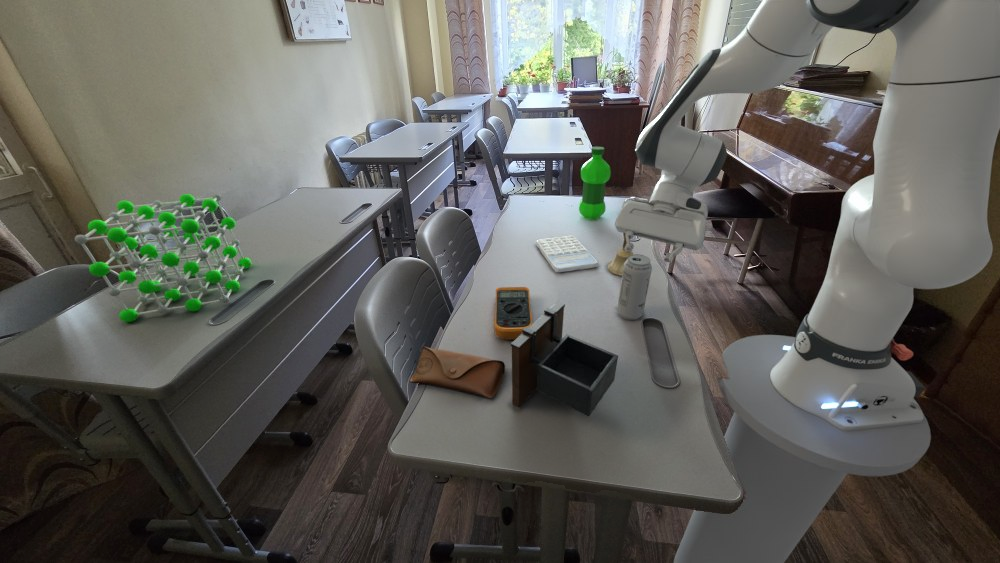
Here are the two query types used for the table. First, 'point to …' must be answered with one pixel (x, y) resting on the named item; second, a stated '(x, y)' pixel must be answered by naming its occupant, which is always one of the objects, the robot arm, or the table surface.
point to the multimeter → (512, 312)
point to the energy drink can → (634, 286)
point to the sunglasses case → (459, 372)
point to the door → (521, 354)
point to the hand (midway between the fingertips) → (647, 256)
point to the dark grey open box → (573, 370)
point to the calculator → (566, 254)
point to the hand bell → (619, 260)
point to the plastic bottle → (594, 185)
